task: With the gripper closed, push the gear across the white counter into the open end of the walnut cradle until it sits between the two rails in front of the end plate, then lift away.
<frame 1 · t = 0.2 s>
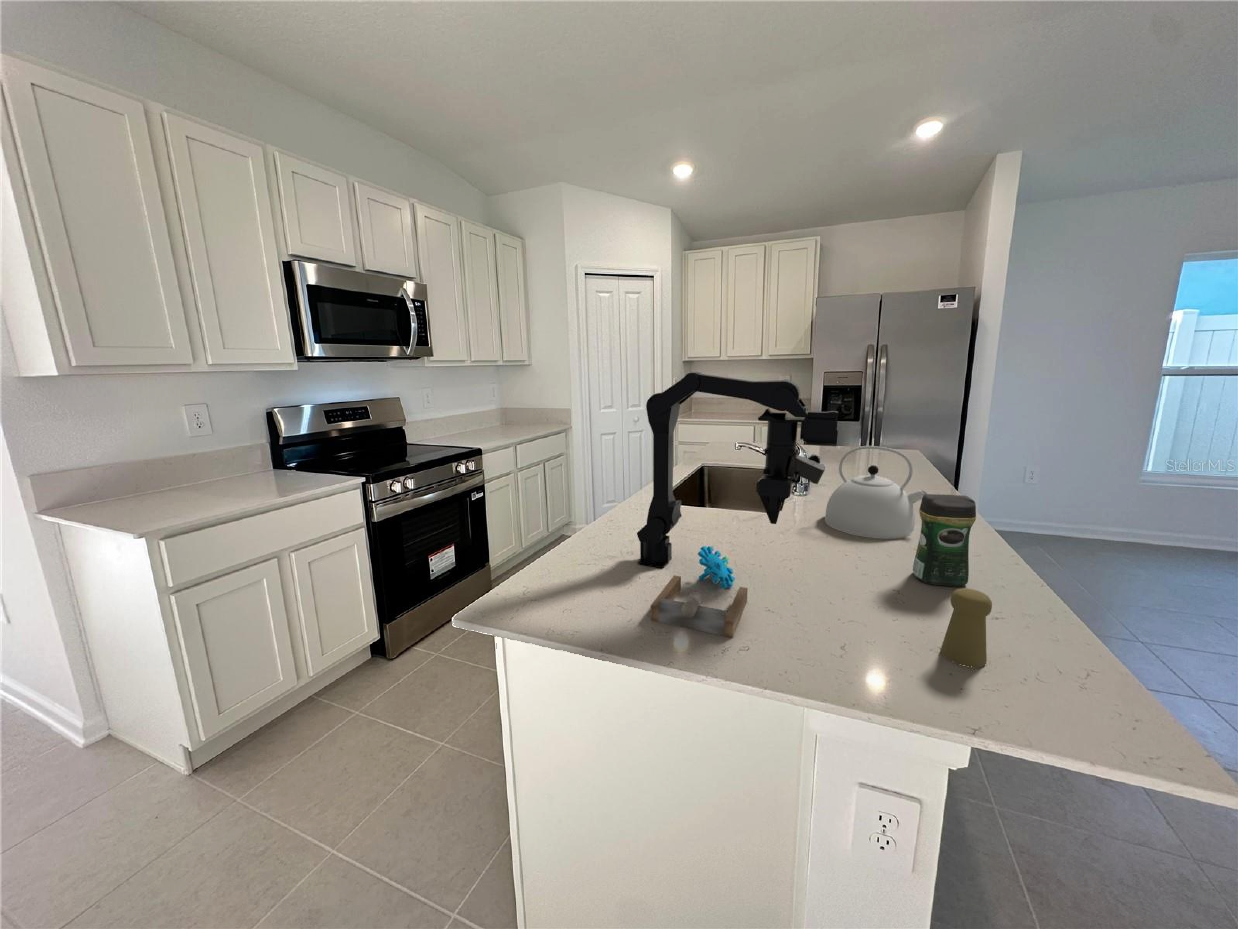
hand: (776, 516, 101), 14 cm above the worktop, tool pointing down, fingers open, 9 cm apart
coffee jar: (938, 580, 103), on the worktop
cork: (962, 657, 77), on the worktop
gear: (716, 583, 104), on the worktop
kettle: (872, 525, 137), on the worktop
cradle: (700, 610, 92), on the worktop
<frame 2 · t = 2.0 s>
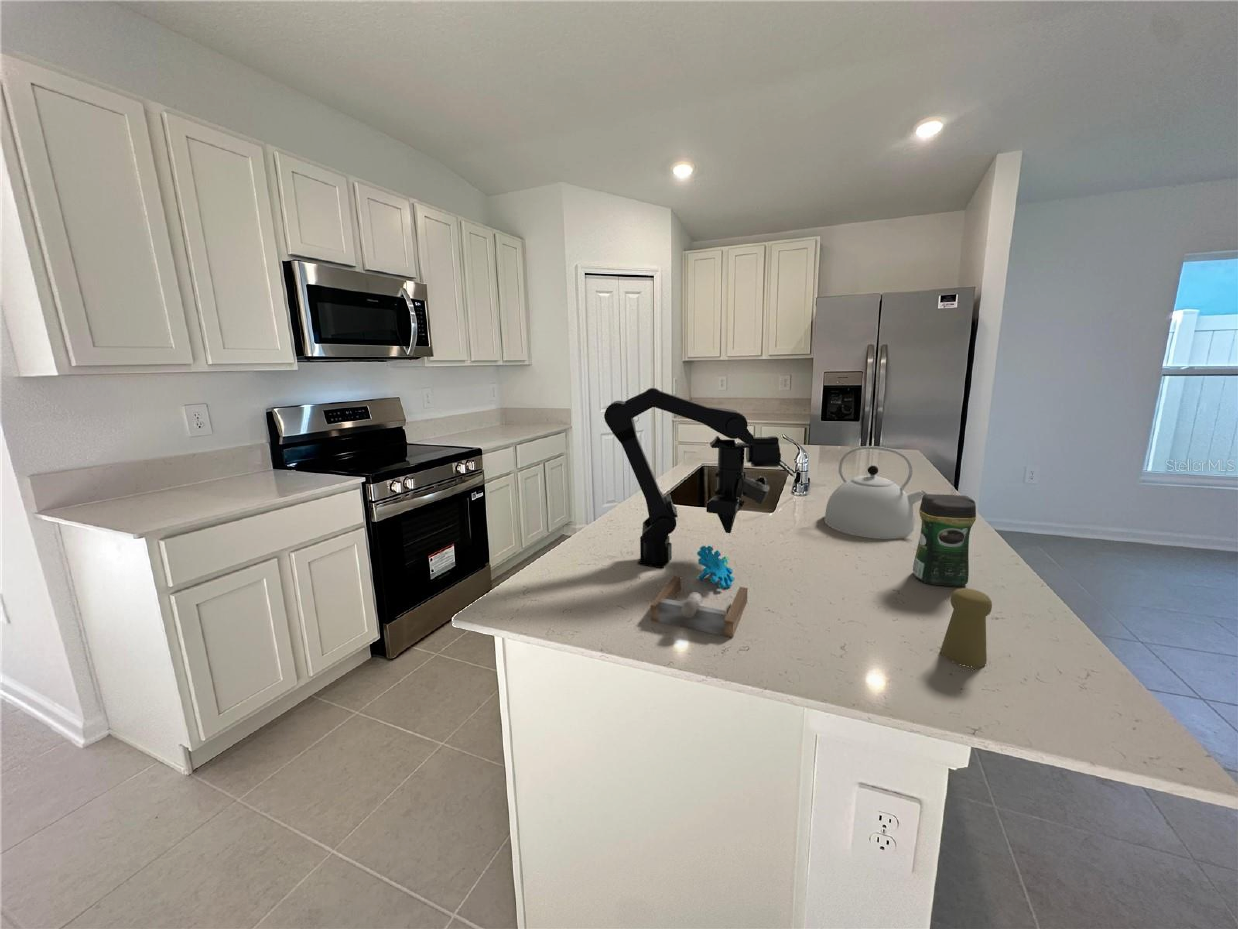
hand: (728, 532, 112), 7 cm above the worktop, tool pointing down, fingers closed
nothing on the worktop moved.
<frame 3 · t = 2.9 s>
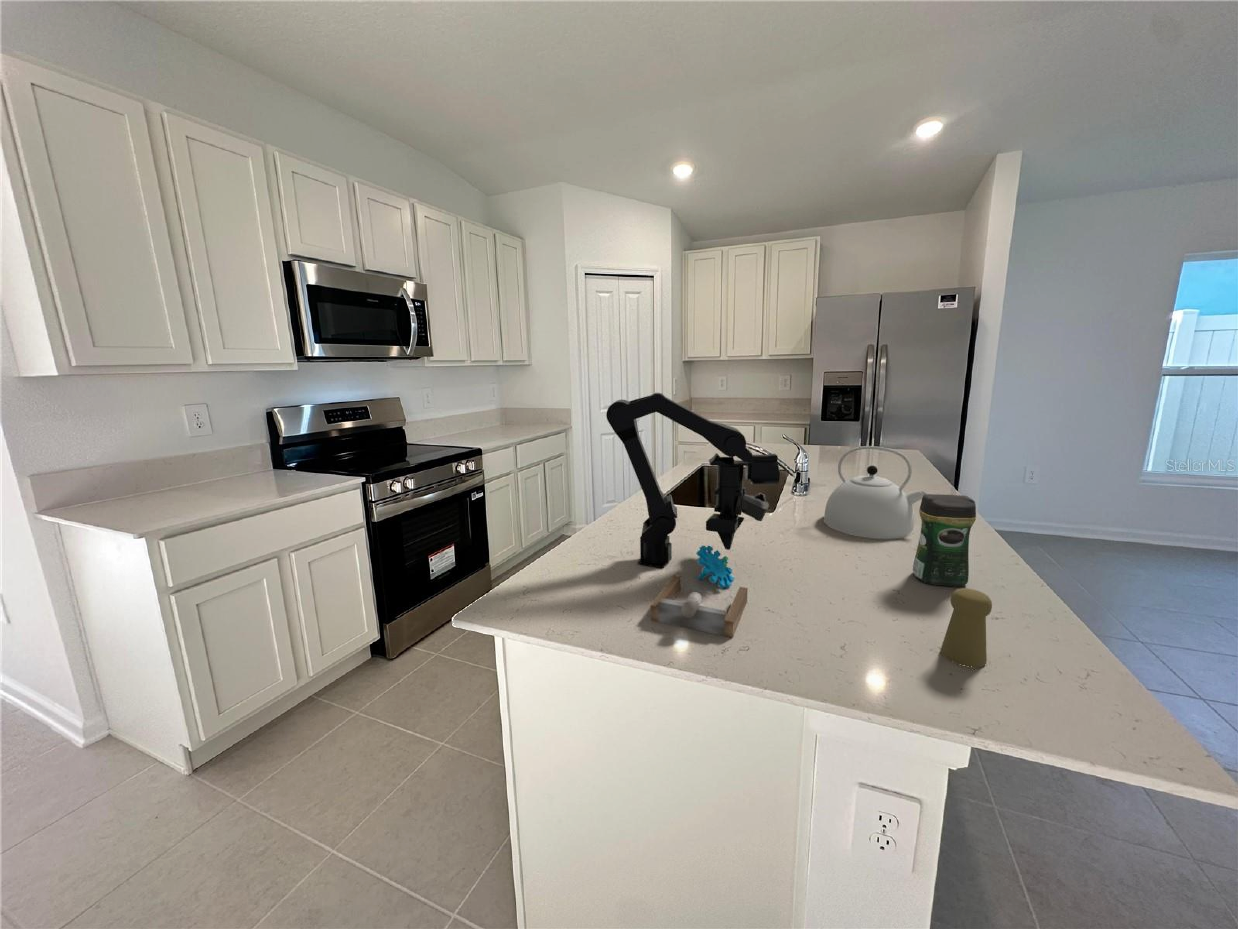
hand: (727, 549, 112), 3 cm above the worktop, tool pointing down, fingers closed
nothing on the worktop moved.
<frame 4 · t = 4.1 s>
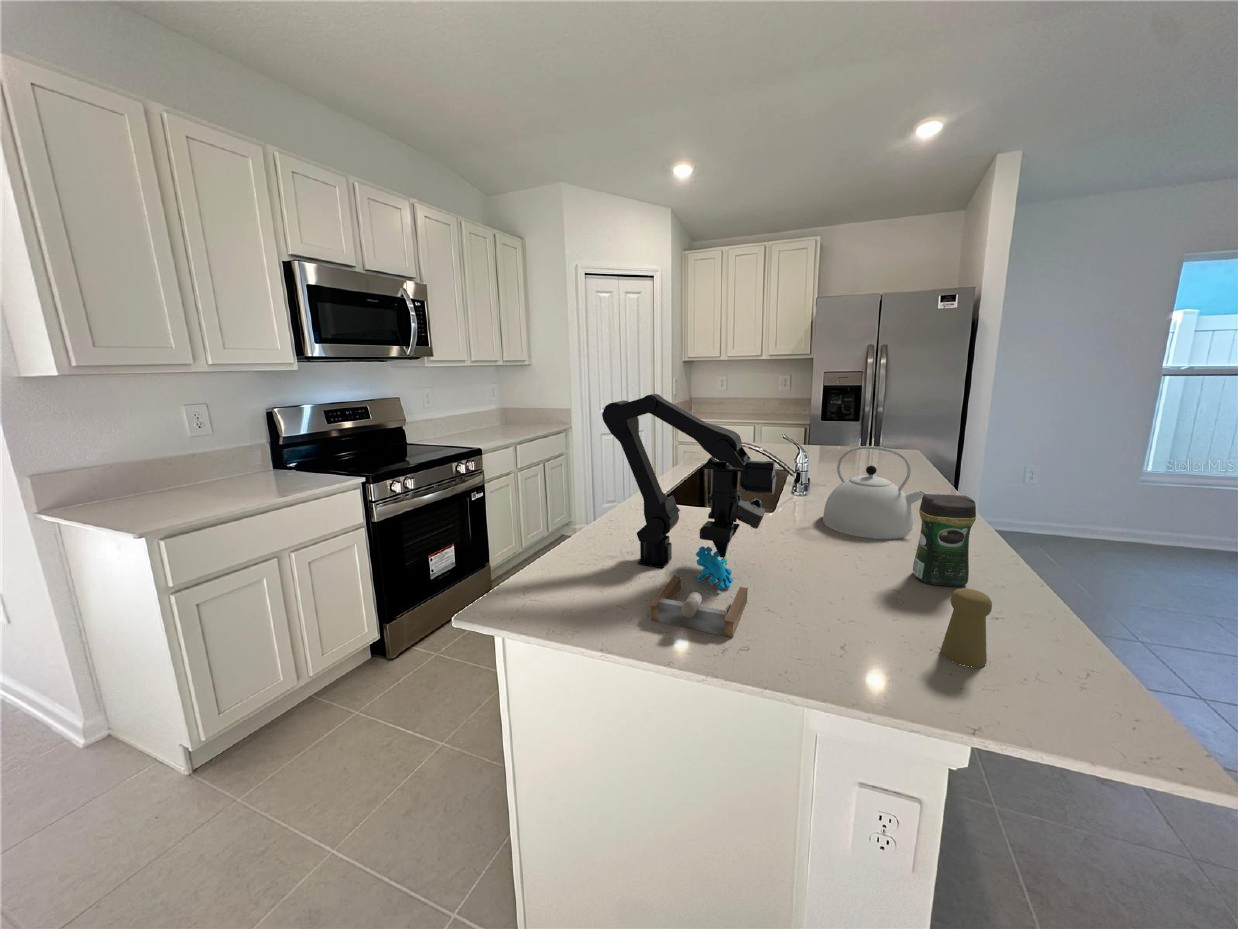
hand: (722, 557, 108), 4 cm above the worktop, tool pointing down, fingers closed
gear: (714, 583, 103), on the worktop, touching gripper
everything else where it was.
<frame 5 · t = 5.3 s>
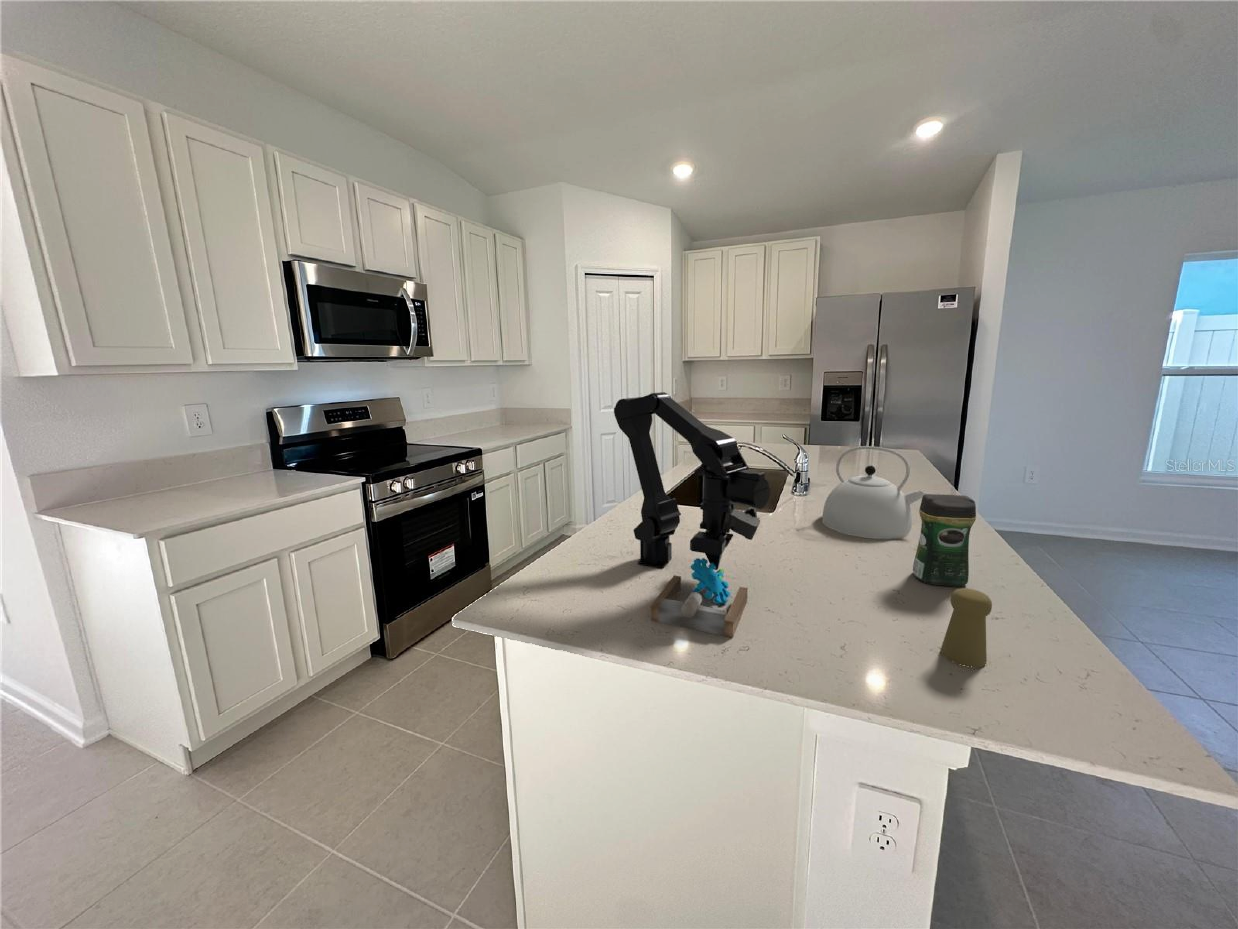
hand: (715, 569, 102), 4 cm above the worktop, tool pointing down, fingers closed
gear: (710, 597, 97), on the worktop, touching gripper
everything else where it was.
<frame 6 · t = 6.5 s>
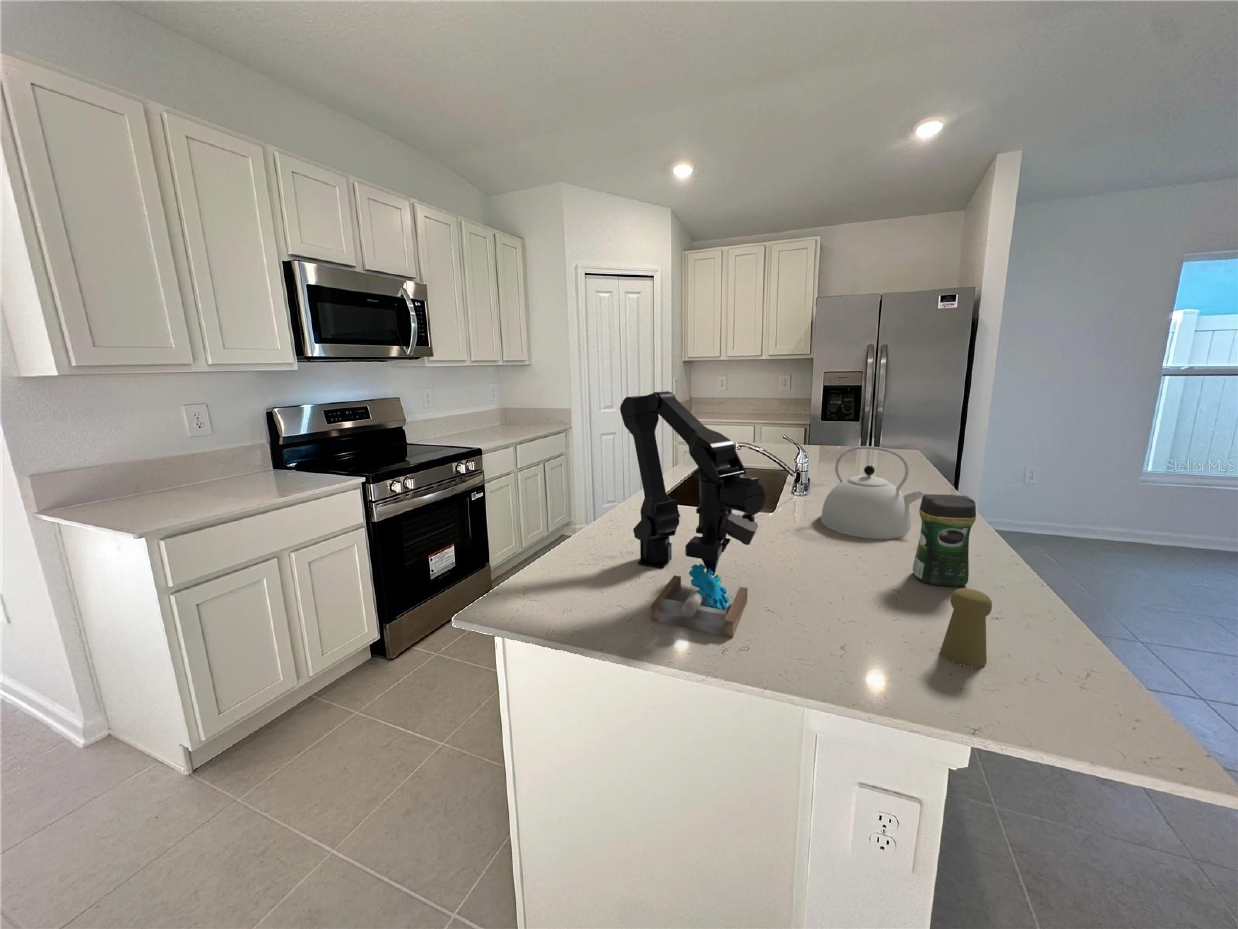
hand: (711, 574, 99), 3 cm above the worktop, tool pointing down, fingers closed
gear: (709, 604, 95), on the worktop, touching gripper
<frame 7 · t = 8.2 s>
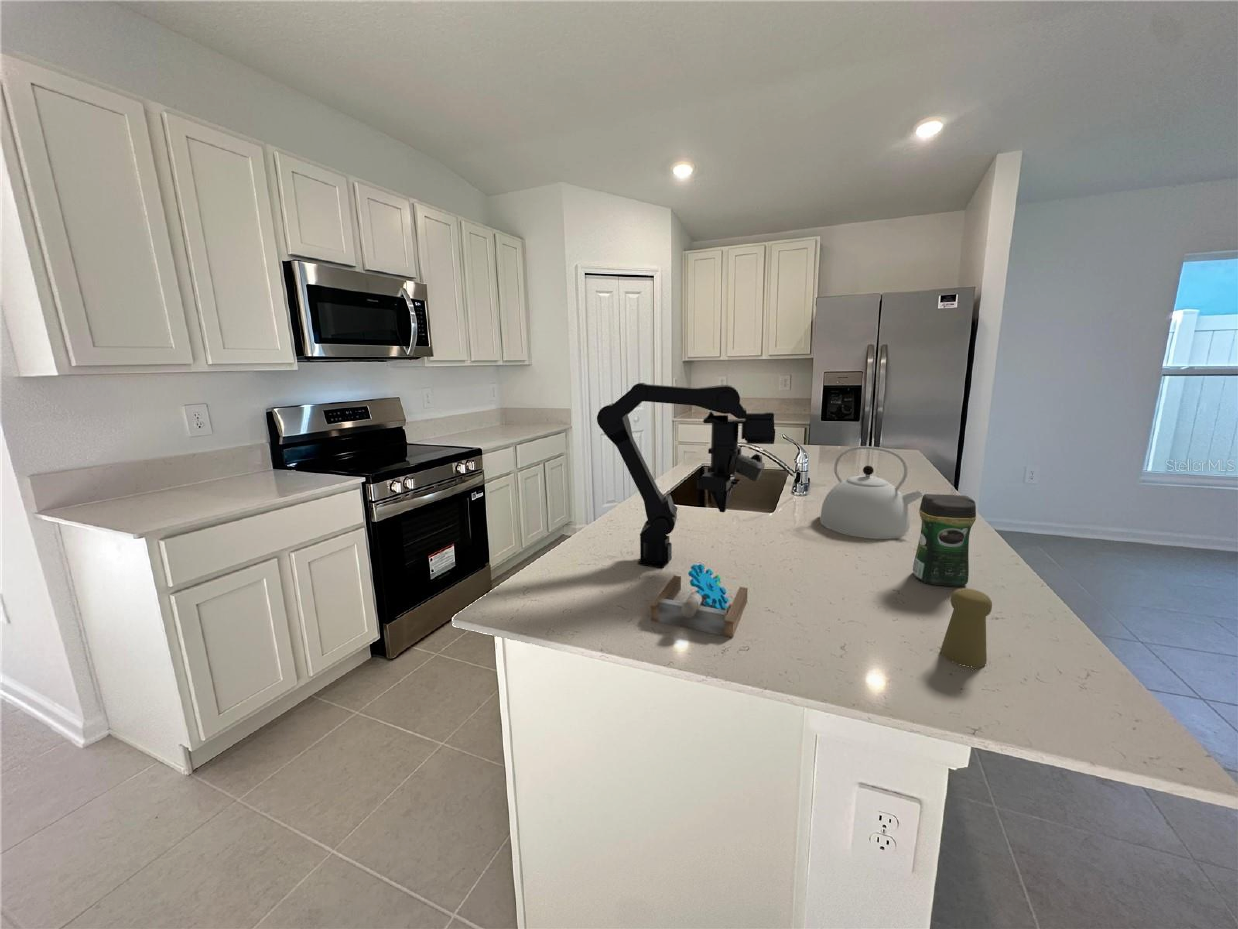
hand: (722, 511, 109), 13 cm above the worktop, tool pointing down, fingers closed
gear: (708, 604, 95), on the worktop
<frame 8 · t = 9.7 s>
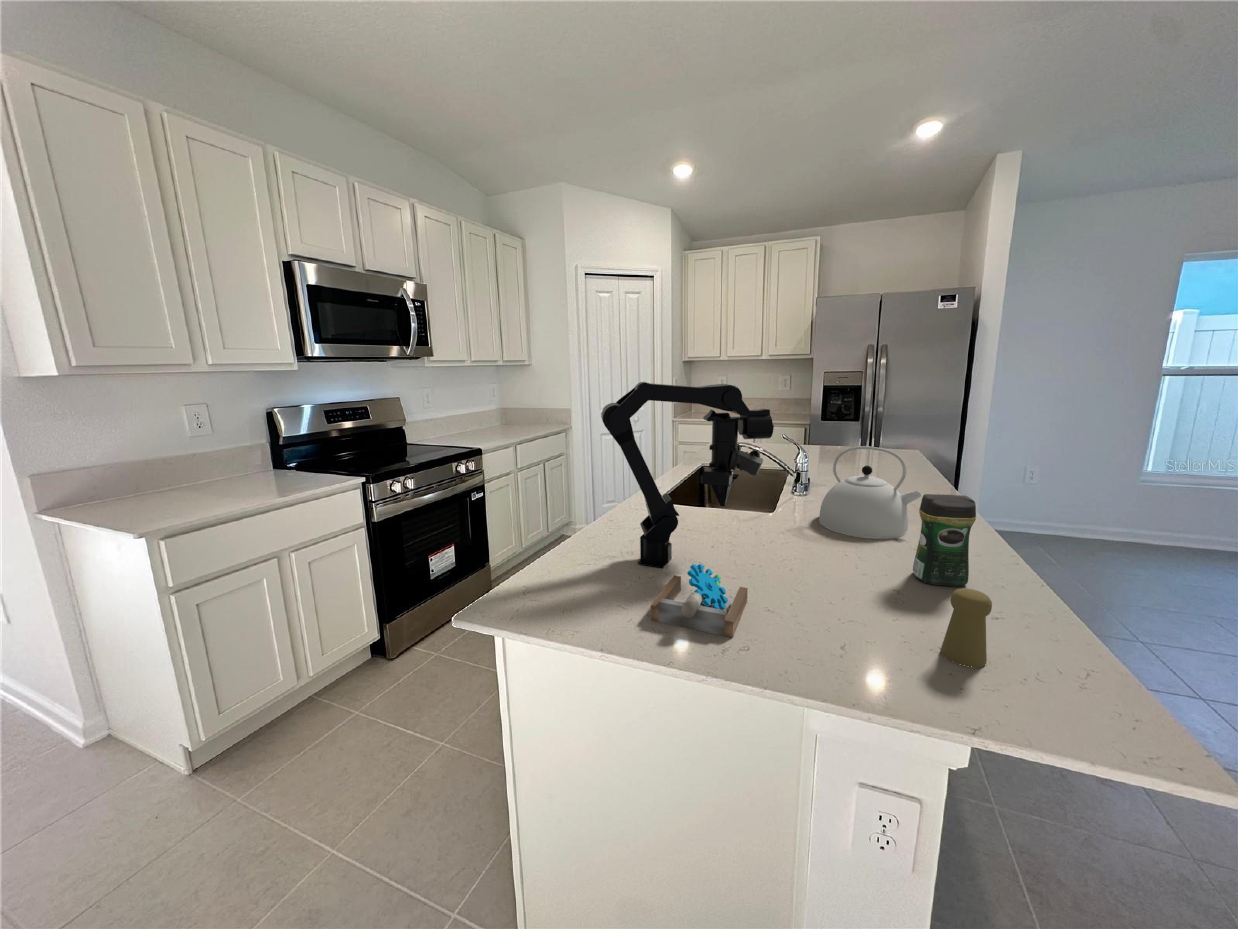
hand: (722, 505, 113), 13 cm above the worktop, tool pointing down, fingers closed
at the end: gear inside the target area (2.5 cm from its centre), on the worktop; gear moved 9.8 cm from its start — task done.
